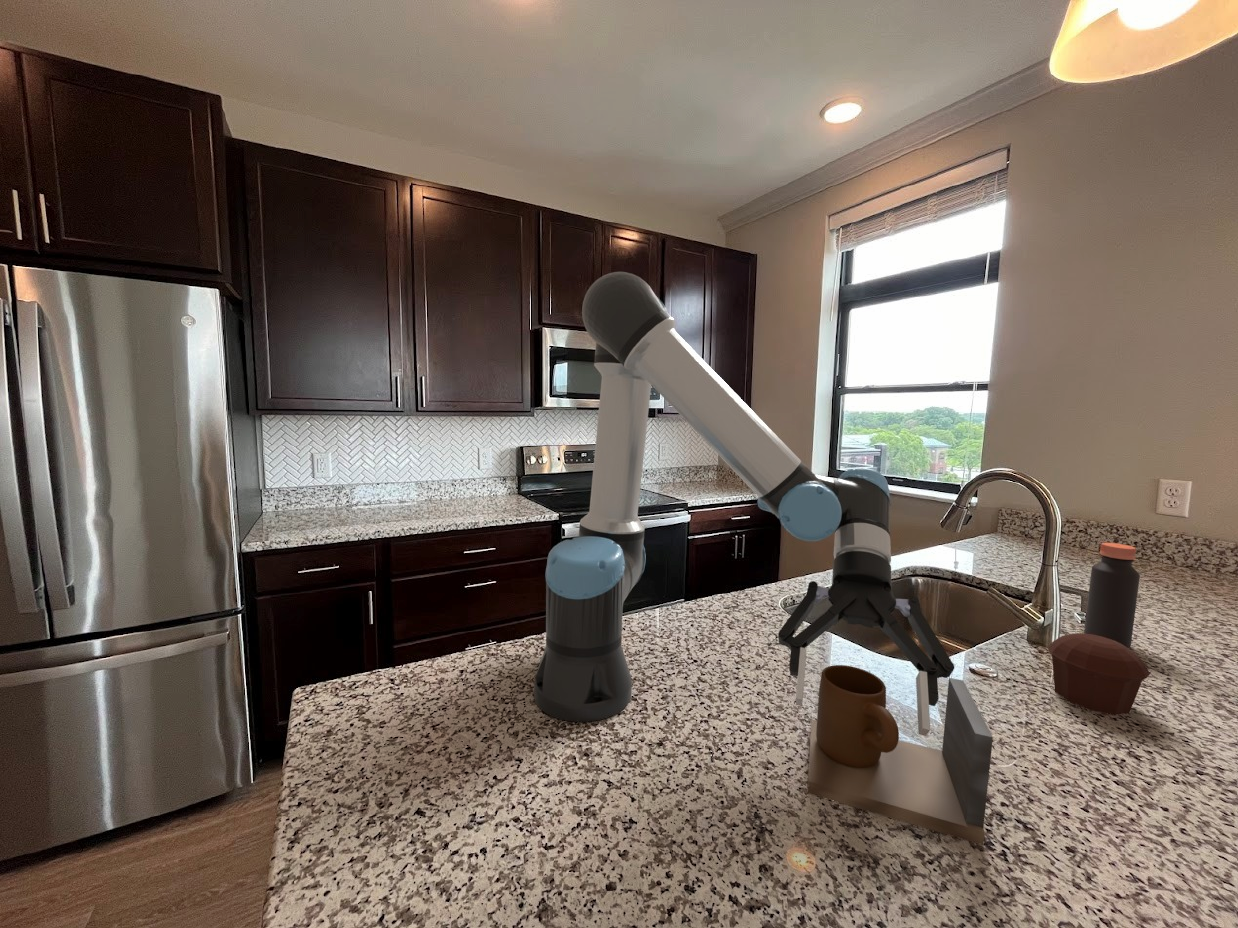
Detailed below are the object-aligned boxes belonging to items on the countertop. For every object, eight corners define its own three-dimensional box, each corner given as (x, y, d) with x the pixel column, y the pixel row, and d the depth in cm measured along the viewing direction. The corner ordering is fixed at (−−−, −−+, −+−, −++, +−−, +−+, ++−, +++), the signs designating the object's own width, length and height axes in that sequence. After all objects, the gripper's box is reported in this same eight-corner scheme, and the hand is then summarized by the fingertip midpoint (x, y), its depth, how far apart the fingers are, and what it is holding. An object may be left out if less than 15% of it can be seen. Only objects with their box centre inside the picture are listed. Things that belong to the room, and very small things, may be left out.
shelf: (807, 793, 58) (813, 699, 56) (810, 729, 69) (816, 650, 68) (983, 845, 51) (994, 740, 50) (953, 764, 63) (962, 678, 62)
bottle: (1124, 641, 101) (1136, 544, 99) (1135, 654, 95) (1148, 552, 93) (1079, 632, 104) (1090, 539, 102) (1088, 644, 99) (1099, 546, 97)
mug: (921, 796, 55) (929, 717, 54) (858, 801, 54) (864, 720, 54) (857, 728, 67) (862, 662, 66) (804, 731, 66) (809, 664, 65)
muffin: (1040, 698, 79) (1047, 637, 78) (1043, 672, 87) (1050, 617, 86) (1149, 731, 71) (1158, 664, 70) (1141, 700, 79) (1149, 640, 78)
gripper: (957, 588, 70) (975, 753, 57) (773, 562, 79) (754, 700, 67) (970, 561, 64) (993, 737, 52) (771, 537, 74) (750, 681, 62)
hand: (858, 716), depth 60 cm, fingers open, 13 cm apart
